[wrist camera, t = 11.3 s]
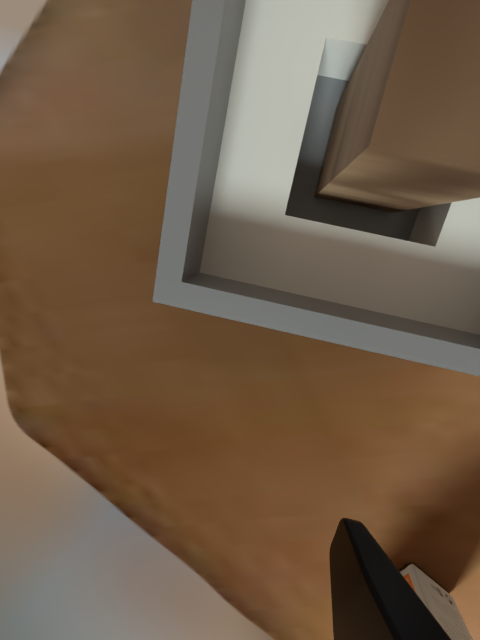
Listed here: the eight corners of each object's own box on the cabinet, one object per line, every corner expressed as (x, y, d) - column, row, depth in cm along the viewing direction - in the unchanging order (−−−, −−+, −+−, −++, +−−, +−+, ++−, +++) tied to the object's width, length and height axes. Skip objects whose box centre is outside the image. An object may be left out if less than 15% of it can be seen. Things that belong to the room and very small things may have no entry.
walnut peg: (420, 124, 15) (673, -66, 5) (392, 212, 16) (563, 183, 7) (336, 108, 15) (438, -101, 6) (314, 196, 16) (369, 146, 7)
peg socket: (577, 20, 14) (845, -168, 8) (448, 333, 18) (548, 392, 12) (248, -38, 15) (225, -257, 8) (195, 277, 19) (152, 301, 12)
